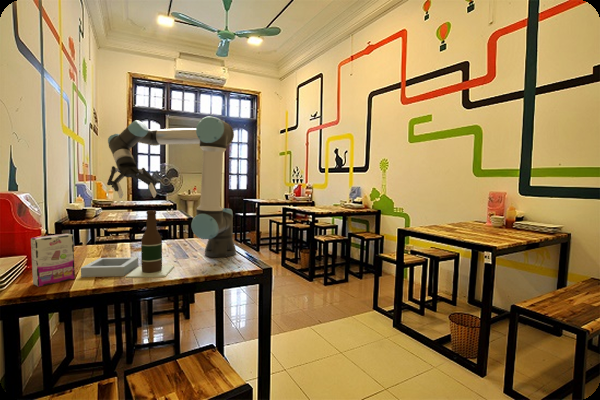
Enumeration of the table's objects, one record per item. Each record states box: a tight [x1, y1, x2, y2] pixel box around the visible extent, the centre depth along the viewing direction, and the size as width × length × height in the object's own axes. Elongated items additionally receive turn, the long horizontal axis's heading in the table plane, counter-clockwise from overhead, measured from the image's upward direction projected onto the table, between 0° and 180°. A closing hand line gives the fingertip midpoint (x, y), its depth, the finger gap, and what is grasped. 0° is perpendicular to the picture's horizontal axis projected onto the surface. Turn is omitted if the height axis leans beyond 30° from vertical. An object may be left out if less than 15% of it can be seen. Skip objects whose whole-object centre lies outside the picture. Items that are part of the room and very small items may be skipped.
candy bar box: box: [30, 233, 76, 287], centre depth 110 cm, size 11×5×16 cm, turn 148°
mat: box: [125, 264, 175, 279], centre depth 124 cm, size 14×14×1 cm
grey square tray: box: [80, 256, 139, 278], centre depth 125 cm, size 15×15×4 cm
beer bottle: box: [140, 209, 163, 273], centre depth 124 cm, size 8×8×24 cm
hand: (138, 195), depth 133 cm, fingers open, 13 cm apart
